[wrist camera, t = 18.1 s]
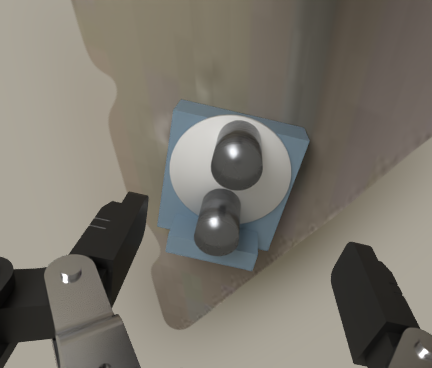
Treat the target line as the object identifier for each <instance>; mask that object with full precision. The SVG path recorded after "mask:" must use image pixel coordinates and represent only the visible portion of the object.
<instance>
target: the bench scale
mask: <svg viewBox="0 0 432 368" xmlns="http://www.w3.org/2000/svg"><path fill="white" fill-rule="evenodd" d="M236 120H242V121H246V122H249V123H251V124H252V125H254V126H255V127H256V128H257V130H258V131H259V133H260V136H261V147H262V163H263V171H262V175H261V177H260V179H259V180H258V182H257V183H256V184H255V185H253V186H252V187H250V188H248V189H245V190H240V191H235V190H230V191H232V192H233V193H235V194H236V195H237V196H238V198H239V200H240V203H241V212H240V231H239V244H238V246H237V248H236V249H235V250H234V251H233V252H232V253H230V254H228V255H225V256H211V255H208V254H206V253H204V252H202V251H201V250H200V249H199V248H198V247H197V246H196V244H195V241H194V233H195V229H196V225H197V221H198V217H199V213H200V209H201V205H202V201H203V198H204V196H205V195H206V194H207V193H208V192H209V191H211V190H214V189H219V188H221V189H226V188H224V187H222V186H221V185H219V184H218V183H217V182H216V180H215V179H214V177H213V175H212V173H211V161H212V157H213V153H214V149H215V145H216V142H217V138H218V134H219V132H220V130H221V129H222V128H223V126H225V125H226V124H227V123H229V122H232V121H236ZM309 142H310V141H309V138H308V136H307V134H306V131H305V129H304V128H303V127H299V126H295V125H290V124H286V123H282V122H277V121H273V120H269V119H264V118H260V117H256V116H251V115H247V114H243V113H238V112H234V111H230V110H225V109H221V108H217V107H212V106H208V105H204V104H199V103H195V102H191V101H186V100H182V99H181V100H180V102H179V103H178V104H177V106H176V107H175V108H174V110H173V117H172V124H171V131H170V138H169V146H168V153H167V160H166V167H165V174H164V182H163V189H162V196H161V203H160V210H159V218H158V225H157V227H162V228H166V229H170V232H169V235H168V240H167V246H166V252H168V253H173V254H177V255H182V256H186V257H191V258H195V259H200V260H204V261H209V262H213V263H218V264H222V265H227V266H231V267H236V268H240V269H245V270H249V271H252V270H253V267H254V264H255V262H256V259H257V256H258V249H260V250H265V251H268V249H269V246H270V244H271V241H272V239H273V236H274V233H275V231H276V228H277V225H278V223H279V220H280V218H281V215H282V212H283V210H284V207H285V204H286V202H287V199H288V197H289V194H290V191H291V189H292V186H293V183H294V181H295V178H296V176H297V173H298V170H299V168H300V165H301V163H302V160H303V157H304V155H305V152H306V149H307V147H308V144H309ZM227 190H229V189H227Z"/></svg>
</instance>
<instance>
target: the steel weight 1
mask: <svg viewBox="0 0 432 368" xmlns="http://www.w3.org/2000/svg"><path fill="white" fill-rule="evenodd" d="M262 171H263V163H262V147H261V136H260V133H259V131H258V130H257V128H256V127H255V126H254V125H252V124H251V123H249V122H246V121H242V120H236V121H232V122H229V123H227V124H226V125H225V126H223V128H222V129H221V130H220V132H219V134H218V138H217V142H216V145H215V149H214V153H213V157H212V161H211V173H212V175H213V177H214V179H215V180H216V182H217V183H218V184H219V185H221V186H222V187H224V188H226V189H229V190H235V191H240V190H245V189H248V188H250V187H252V186H253V185H255V184H256V183H257V182H258V180H259V179H260V177H261V175H262Z"/></svg>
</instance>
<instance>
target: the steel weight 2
mask: <svg viewBox="0 0 432 368" xmlns="http://www.w3.org/2000/svg"><path fill="white" fill-rule="evenodd" d="M240 212H241V203H240V200H239V198H238V196H237V195H236V194H235V193H233V192H232V191H230V190H227V189H221V188H219V189H214V190H211V191H209V192H208V193H207V194H206V195H205V196H204V198H203V201H202V205H201V209H200V213H199V217H198V221H197V225H196V229H195V233H194V241H195V244H196V246H197V247H198V248H199V249H200V250H201V251H202V252H204V253H206V254H208V255H211V256H225V255H228V254H230V253H232V252H233V251H234V250H235V249H236V248H237V246H238V244H239V231H240Z"/></svg>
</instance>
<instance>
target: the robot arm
mask: <svg viewBox="0 0 432 368" xmlns="http://www.w3.org/2000/svg"><path fill="white" fill-rule="evenodd" d="M147 208H148V196H147V195H143V194H138V193H134V192H128V194H127V195H126V197H125V199H124V200H123V202H122V203H119V202H114V201H112V202H110V203H108V204H107V205H105V206H103V207H102V208H101V209H100V211H99V212H98V213H97V215H96V216H95V219H93V221H92V222H91V224H90V226H88V228H87V229H86V231H85V232H84V233H83V235H82V236H81V238H80V239H79V241H78V242H77V244H76V245H75V246H74V248H73V249H72V251H71V252H70V254H69V255H66V256H62V257H60V258H57V259H56V260H54V261H53V262H51V263H50V264H49V265H48V267H45V268H37V269H13V265H12V263H11V262H10V261H9V260H7V259H5V258H3V257H0V368H3V367H4V366H5V364H6V362H7V360H8V359H9V357H10V355H11V354H12V352H13V350H14V348H15V347H16V345H17V344H18V342H25V341H35V340H44V339H52V345H53V350H54V355H55V360H56V365H57V368H141V367H140V365H139V362H138V360H137V357H136V354H135V352H134V349H133V347H132V344H131V341H130V339H129V336H128V334H127V331H126V329H125V326H124V323H123V321H122V319H121V317H120V316H119V315H118V314H116V315H114V313H113V311H112V307H113V304H114V302H115V300H116V298H117V295H118V293H119V291H120V289H121V286H122V284H123V282H124V280H125V277H126V275H127V273H128V271H129V268H130V266H131V264H132V261H133V259H134V257H135V255H136V252H137V250H138V248H139V246H140V244H141V241H142V238H143V235H144V231H145V226H146V217H147ZM331 284H332V288H333V292H334V295H335V299H336V303H337V306H338V310H339V313H340V317H341V320H342V324H343V327H344V331H345V335H346V338H347V342H348V345H349V349H350V353H351V356H352V359H353V363H354V364H357V365H362V366H367V367H368V368H432V335H431V334H429V333H427V332H426V331H424V330H421V329H420V327H419V325H418V323H417V321H416V319H415V317H414V316H413V313H412V311H411V309H410V307H409V306H408V304H407V302H406V300H405V298H404V297H403V296H402V292H401V290H400V288H399V287H398V286H397V285H398V284H397V282H396V280H395V278H394V276H393V274H392V272H391V271H390V270H389V269H388V268H387V267H386V266H385V265H384V264H383V263H382V262H381V261H378V259H377V257H376V255H375V253H374V251H373V249H372V247H371V246H368V245H364V244H359V243H355V242H349V243H348V244H347V245H346V247H345V248H344V250H343V252H342V254H341V255H340V257H339V259H338V261H337V262H336V264H335V266H334V268H333V271H332V274H331Z"/></svg>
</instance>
